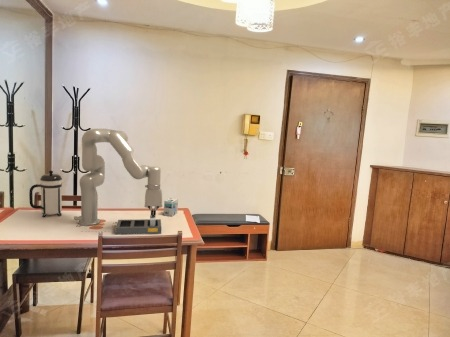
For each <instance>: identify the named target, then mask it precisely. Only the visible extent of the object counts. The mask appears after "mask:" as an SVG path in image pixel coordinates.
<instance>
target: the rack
mask: <svg viewBox="0 0 450 337" xmlns="http://www.w3.org/2000/svg"><path fill="white" fill-rule="evenodd" d="M159 234H160V235H162V220H161V219H160V218H159V219H156V218H155V226H150V218H149V219H144V218H143V219H141V218H140V219H118V220H117V222H116V226H115V235H121V236H122V235H159Z"/></svg>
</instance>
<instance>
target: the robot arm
mask: <svg viewBox="0 0 450 337" xmlns="http://www.w3.org/2000/svg"><path fill="white" fill-rule="evenodd" d="M128 140H129V137H128V135H127V133H126V132H125V131H121V130H115V129H108V128H91V129H89V130H86V131H85V132H84V133H83V135H82V137H81V166H82V169H83V170H84V171H86V172H87V173H86V174H83V175H82V176H81V177H80V179H79V188H80V201H81V202H80V206H81V208H80V209H81V210H80V213H81V215H79V216H78V215H75V216H73V220H74V221H78V224H79V225H81V226H87V227H88V226H95V225H98V224H100V223H101V220H100V219H99V217H98V216H99V215H98V214H99V213H98V210H99V209H98V208H99V206H98V205H99V204H98V198H99V197H98V191H97V187H100V186H102V185H103V184H104V182H105V179H106V178H105V176H106V175H105V174H106V173H105V172H106V165H105V164H106V163H105V160H104V158H103V157H102V156H101V155H99V154H98V148H97V146H96V144H97V143H109V144H110V145H111V146H112V147H113V149H114V150H115V151H116V152H117V155H119V157H120V158H121V161H122V163H123V167H124V168H125V170H126V172H128V174H129V175H130V176H131V177H132V178H133V179H134V180H142V179H145V178H147V184H145V185H144V188H146V189H145V195H144V196H145V197H144V208H146V209H148V210H150V215H152V217H155V218H156V215H157V213H156V212H157V210H158V209H159V208H163V192H162V191H163V190H162V188H161V172H162V171H161V168H160V167H159V166H150V165H144V164H141V165H139V164H138V163H137V161H135V158H134V148H133V147H132V146H131V145H130V143H128ZM88 172H89V173H88ZM153 207H154V208H153Z"/></svg>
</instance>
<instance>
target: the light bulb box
mask: <svg viewBox="0 0 450 337" xmlns="http://www.w3.org/2000/svg"><path fill="white" fill-rule="evenodd" d="M163 202H164V206H163V216H165V217H174V216H176V215H177V214H178V208H179V207H178V204H179V203H178V202H179V199H178V198H172V197H169V198H167V199H165V200H164V201H163Z"/></svg>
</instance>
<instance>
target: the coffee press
mask: <svg viewBox="0 0 450 337" xmlns="http://www.w3.org/2000/svg"><path fill="white" fill-rule="evenodd" d="M39 180H40V184H39V183H38V184H37V183H36V184H34V185H32V186H30V188H29V194H28V195H29V197H28V198H29V206H30V207H31V208H32V209H35V210H36V209H37V210H41V213H43V214H42V215H41V217H42V218H46V217H47V216H49V215H50V216H51V215H57V216H58V217H61V216H62V210H63V208H62V205H63V202H62V198H63V197H62V194H63V193H62V187H63V184H62V183H65V180H64V179H63V177H62V176H61V175H60V174H59V173H54V171H53V170H49V171H48V173H46V174H42V176H41V177H40V178H39ZM35 188H40V201H41V202H40V204H41V205H34V202H33V201H34V200H33V197H34V196H33V191H34V189H35Z"/></svg>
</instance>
